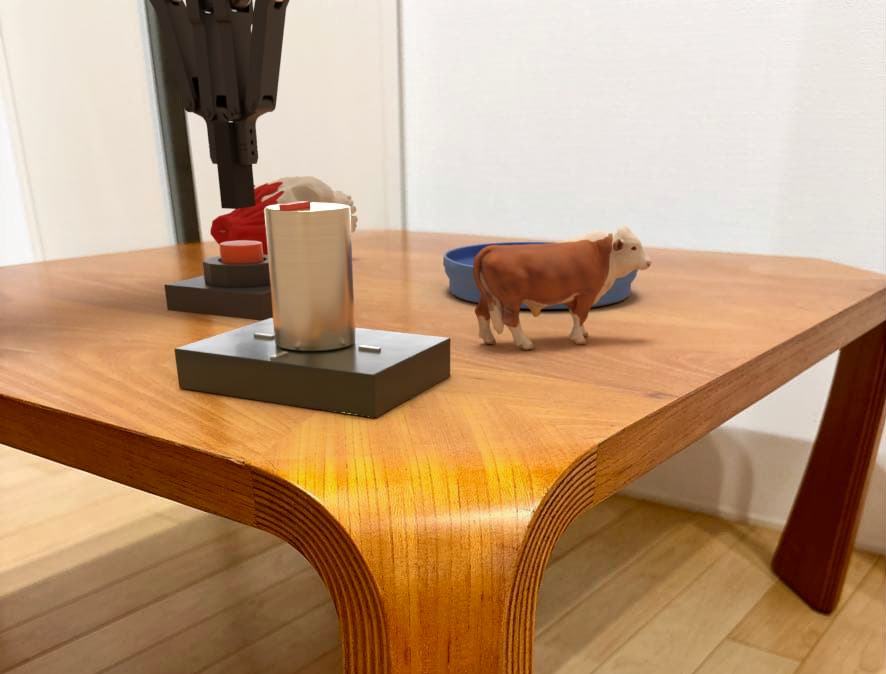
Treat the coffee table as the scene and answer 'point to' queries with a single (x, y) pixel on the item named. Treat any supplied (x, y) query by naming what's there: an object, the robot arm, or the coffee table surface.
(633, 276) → the bowl
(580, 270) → the bull figurine
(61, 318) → the coffee table surface
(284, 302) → the knob
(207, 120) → the robot arm
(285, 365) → the dial panel
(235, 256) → the button
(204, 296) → the button box
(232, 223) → the red cream irregular piece
